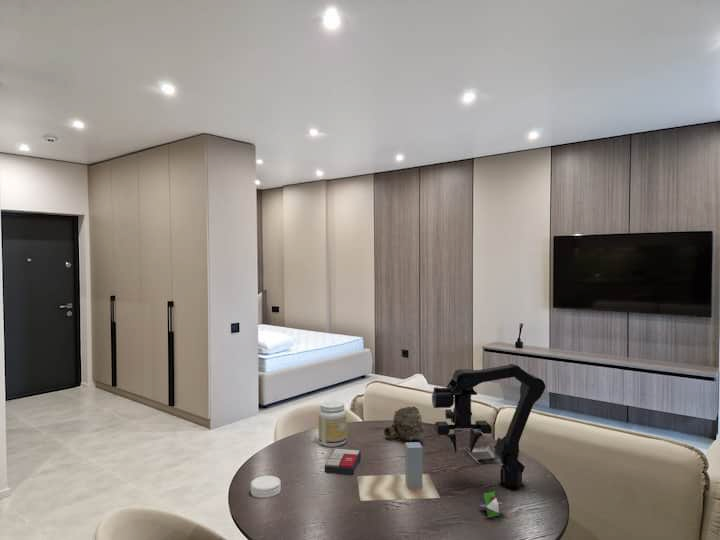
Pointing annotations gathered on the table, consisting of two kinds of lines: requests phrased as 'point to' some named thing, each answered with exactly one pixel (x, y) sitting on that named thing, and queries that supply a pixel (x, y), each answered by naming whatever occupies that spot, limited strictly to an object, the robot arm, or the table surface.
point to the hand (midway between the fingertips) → (462, 452)
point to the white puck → (265, 486)
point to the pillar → (413, 465)
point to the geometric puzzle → (491, 504)
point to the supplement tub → (332, 424)
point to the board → (393, 488)
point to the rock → (406, 425)
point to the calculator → (343, 461)
